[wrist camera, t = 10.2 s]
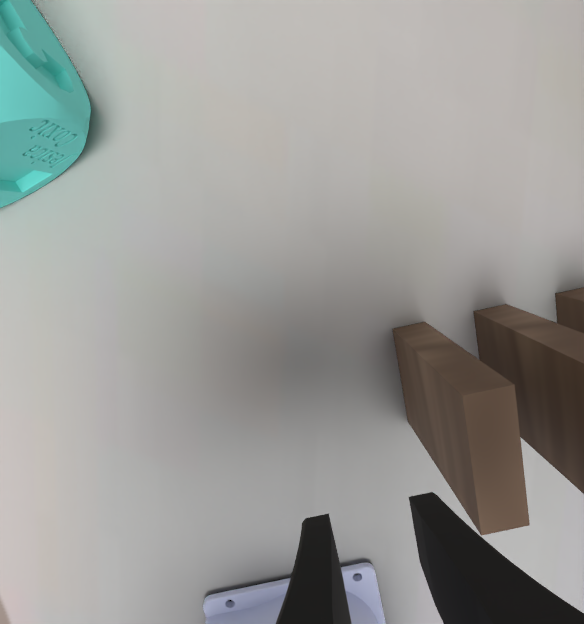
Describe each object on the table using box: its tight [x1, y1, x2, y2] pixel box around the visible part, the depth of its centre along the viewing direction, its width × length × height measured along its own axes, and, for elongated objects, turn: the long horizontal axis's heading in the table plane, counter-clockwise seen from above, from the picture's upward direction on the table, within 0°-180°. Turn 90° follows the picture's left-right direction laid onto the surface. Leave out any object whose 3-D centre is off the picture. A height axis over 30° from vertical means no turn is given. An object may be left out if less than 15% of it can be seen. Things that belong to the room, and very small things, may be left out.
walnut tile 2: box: [474, 304, 584, 494], centre depth 17 cm, size 2×5×8 cm, turn 12°
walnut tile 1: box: [393, 322, 529, 535], centre depth 17 cm, size 2×5×8 cm, turn 12°
